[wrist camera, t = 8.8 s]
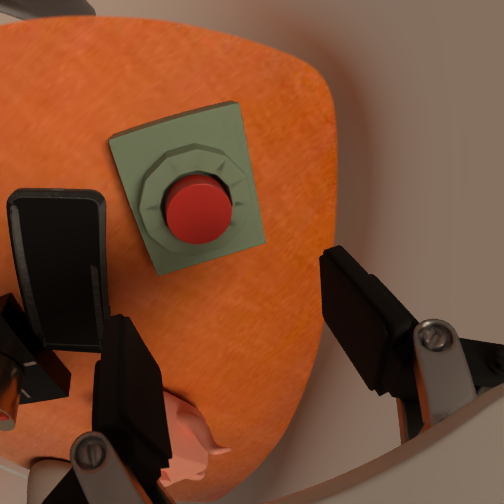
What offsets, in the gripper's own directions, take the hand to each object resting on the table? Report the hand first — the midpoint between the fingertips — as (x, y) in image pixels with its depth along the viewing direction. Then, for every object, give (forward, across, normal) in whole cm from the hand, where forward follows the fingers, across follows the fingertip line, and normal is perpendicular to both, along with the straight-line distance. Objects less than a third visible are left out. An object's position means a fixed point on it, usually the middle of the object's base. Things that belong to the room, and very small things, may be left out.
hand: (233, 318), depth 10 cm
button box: (+14, 0, 0) cm, 14 cm away
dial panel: (+14, +22, +9) cm, 27 cm away
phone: (+14, +12, +4) cm, 19 cm away
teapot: (+14, +12, +23) cm, 29 cm away
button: (+10, 0, 0) cm, 10 cm away
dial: (+11, +22, +9) cm, 26 cm away
